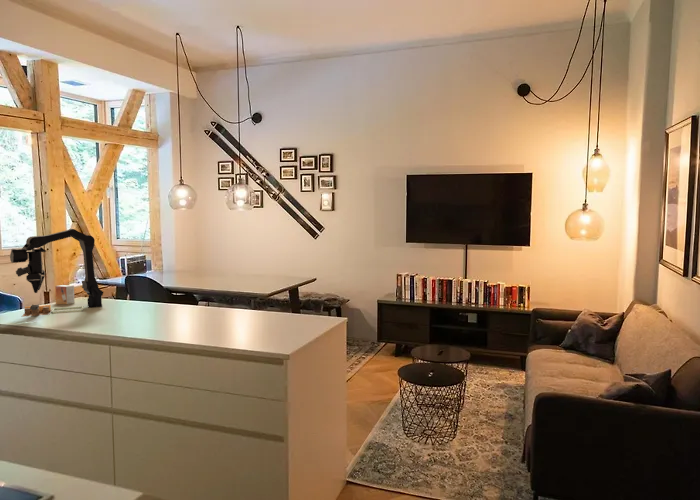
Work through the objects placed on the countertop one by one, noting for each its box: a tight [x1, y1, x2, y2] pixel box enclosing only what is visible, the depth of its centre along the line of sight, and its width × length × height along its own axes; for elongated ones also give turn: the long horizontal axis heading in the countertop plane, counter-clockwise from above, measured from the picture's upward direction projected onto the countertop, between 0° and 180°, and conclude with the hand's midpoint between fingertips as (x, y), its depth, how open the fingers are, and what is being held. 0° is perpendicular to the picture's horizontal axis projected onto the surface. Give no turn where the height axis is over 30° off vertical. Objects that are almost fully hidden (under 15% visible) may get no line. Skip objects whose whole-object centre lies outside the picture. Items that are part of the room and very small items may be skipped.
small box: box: [54, 284, 76, 305], centre depth 285 cm, size 8×6×10 cm
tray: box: [50, 305, 85, 314], centre depth 264 cm, size 14×10×1 cm
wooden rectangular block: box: [24, 304, 52, 313], centre depth 258 cm, size 11×4×4 cm, turn 114°
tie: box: [30, 304, 40, 310], centre depth 249 cm, size 3×7×2 cm, turn 24°
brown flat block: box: [21, 304, 53, 317], centre depth 257 cm, size 12×14×4 cm
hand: (37, 291), depth 256 cm, fingers open, 9 cm apart
